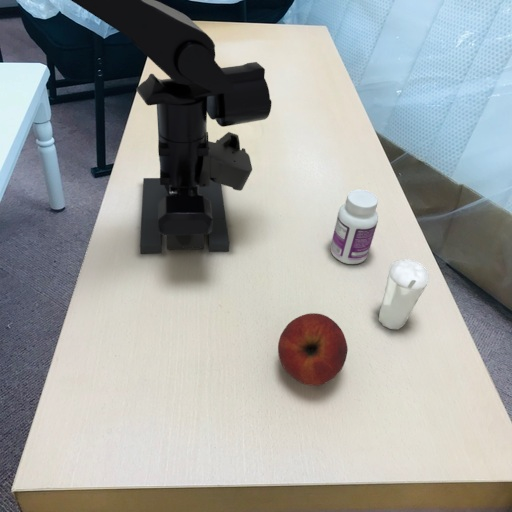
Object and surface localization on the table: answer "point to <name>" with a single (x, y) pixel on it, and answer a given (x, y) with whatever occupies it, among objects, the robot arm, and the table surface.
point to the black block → (195, 242)
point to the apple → (312, 349)
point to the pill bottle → (355, 227)
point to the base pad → (149, 219)
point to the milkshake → (402, 292)
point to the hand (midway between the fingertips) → (184, 231)
